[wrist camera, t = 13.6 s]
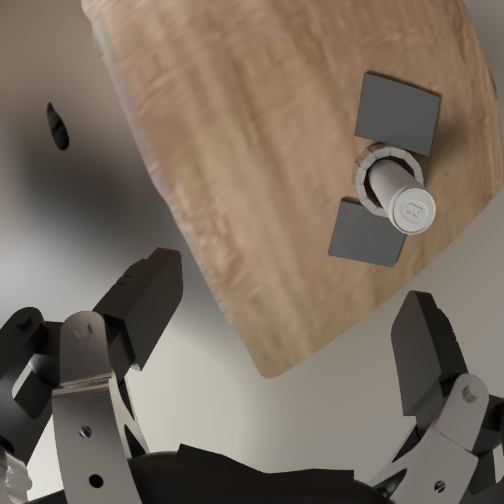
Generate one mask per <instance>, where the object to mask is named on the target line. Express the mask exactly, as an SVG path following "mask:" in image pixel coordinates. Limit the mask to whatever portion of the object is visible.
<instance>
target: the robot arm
mask: <svg viewBox="0 0 504 504" xmlns="http://www.w3.org/2000/svg"><path fill="white" fill-rule="evenodd" d="M182 294H183V279H182V265H181V254H180V252H179V251H177V250H171V249H166V248H160V247H158V248H157V249H156V250H155V251H154V252H153V253H152V254H151V255H150V257H149V258H148V259H141V260H140V261H138V262H136V263H134V264H133V265H131V266H130V267H129V268H128V269H127V271H125V273H124V274H123V276H121V277H120V278H119V279H118V280H117V282H116V284H114V285H113V286H112V287H111V289H110V290H109V291H108V292H107V293H106V294H105V296H104V297H103V298H102V299H101V300H100V301H99V303H98V304H97V305H96V306H95V307H94V309H93V310H92V311H80V312H77V313H75V314H73V315H71V316H70V317H68V318H67V319H66V320H65V321H64V322H50V321H44V318H43V316H42V314H41V312H40V311H39V310H38V309H37V308H34V307H26V308H22V309H20V310H18V311H17V312H15V313H14V314H13V315H12V316H11V317H10V318H9V320H8V321H7V322H6V323H5V324H4V326H3V327H2V328H1V329H0V504H504V476H503V478H502V479H501V480H500V481H499V482H498V483H496V480H495V468H494V458H493V449H495V448H496V447H497V446H499V445H500V444H502V448H503V455H504V398H500V397H497V396H493V395H490V394H489V393H488V390H487V387H486V386H485V384H484V382H483V381H482V380H481V379H480V378H478V377H477V376H475V375H473V374H469V373H468V370H467V367H466V364H465V361H464V358H463V356H462V352H461V350H460V347H459V344H458V342H456V337H455V334H454V332H453V329H452V327H451V324H450V322H449V320H448V318H447V317H446V316H445V314H444V313H443V312H442V311H441V310H440V309H439V308H437V306H436V304H435V301H434V299H433V297H432V295H431V294H430V293H427V292H420V291H413V290H411V291H410V292H409V293H408V294H407V296H406V298H405V300H404V302H403V304H402V307H401V309H400V311H399V313H398V315H397V317H396V319H395V321H394V323H393V326H392V330H391V341H392V346H393V351H394V356H395V362H396V367H397V373H398V379H399V386H400V393H401V400H402V408H403V416H416V422H415V423H414V424H413V425H412V427H411V428H410V430H409V431H408V433H407V434H406V436H405V437H404V439H403V441H402V442H401V444H400V445H399V447H398V448H397V449H396V451H395V452H394V454H393V455H392V457H391V458H390V459H389V461H388V462H387V463H386V465H385V466H384V467H383V468H382V469H381V470H380V471H379V472H378V473H377V474H376V475H375V476H374V477H373V478H372V479H371V480H370V481H369V482H368V483H367V484H365V483H363V482H360V481H358V480H355V479H354V470H329V469H307V470H299V471H291V472H282V473H263V472H261V471H258V470H256V469H253V468H251V467H248V466H246V465H244V464H242V463H239V462H237V461H235V460H233V459H231V458H229V457H227V456H224V455H222V454H217V453H214V452H209V451H205V450H202V449H198V448H194V447H191V446H188V445H184V444H180V446H179V449H178V452H176V451H164V452H163V451H162V452H155V453H150V452H149V449H148V446H147V443H146V441H145V439H144V436H143V434H142V432H141V430H140V427H139V424H138V421H137V417H136V414H135V410H134V407H133V403H132V399H131V395H130V391H129V387H128V383H127V378H126V376H125V375H126V373H127V371H128V370H129V368H133V369H135V370H138V371H142V369H143V367H144V365H145V364H146V362H147V360H148V358H149V356H150V354H151V353H152V351H153V349H154V347H155V345H156V344H157V342H158V340H159V338H160V337H161V335H162V333H163V331H164V330H165V328H166V326H167V324H168V322H169V321H170V319H171V317H172V315H173V314H174V312H175V310H176V308H177V307H178V305H179V303H180V301H181V298H182ZM27 364H28V365H29V367H30V368H31V369H32V371H31V372H30V374H29V375H28V377H27V378H26V380H25V381H24V383H23V385H22V386H21V388H20V390H19V391H18V393H17V395H16V397H15V398H14V399H13V397H12V388H13V386H14V384H15V382H16V381H17V379H18V378H19V376H20V374H21V373H22V371H23V370H24V368H25V367H26V365H27ZM52 413H53V423H54V432H55V440H56V448H57V455H58V460H59V466H60V472H61V477H62V481H63V486H64V489H63V490H61V491H58V492H55V493H53V494H50V495H47V496H44V497H41V498H38V499H35V500H32V501H28V498H27V490H30V489H31V487H32V481H31V478H30V477H29V476H28V471H27V469H26V467H27V464H28V462H29V460H30V458H31V456H32V453H33V451H34V449H35V447H36V445H37V443H38V441H39V439H40V437H41V435H42V433H43V431H44V429H45V427H46V425H47V423H48V421H49V419H50V417H51V415H52Z"/></svg>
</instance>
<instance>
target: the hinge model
mask: <svg viewBox="0 0 504 504" xmlns="http://www.w3.org/2000/svg"><path fill="white" fill-rule="evenodd" d="M439 102H440V97H437V96H435V95H432V94H430V93H427V92H424V91H422V90H419V89H416V88H413V87H410V86H407V85H404V84H401V83H398V82H395V81H392V80H388V79H385V78H381V77H378V76H374V75H370V74H367V73H364V77H363V84H362V91H361V98H360V105H359V111H358V117H357V123H356V128H355V134H354V135H355V136H358V137H362V138H366V139H370V140H374V141H378V142H382V143H380V144H376V145H373V146H370V147H368V149H369V150H368V149H367V148H366V149H365V150H364V151H363V152H362V153H361V154H360V156H359V157H358V158H357V159H356V161H357V162H356V161H355V163H354V168H353V173H352V181H353V184H354V187H355V190H356V194H357V196H358V198H359V200H360V202H361V203H362V204H360V203H356V202H351V201H346V200H342V199H341V202H340V206H339V211H338V215H337V219H336V223H335V227H334V231H333V235H332V239H331V243H330V247H329V250H328V255H331V256H336V257H341V258H346V259H352V260H357V261H362V262H367V263H373V264H378V265H383V266H388V267H394V264H395V262H396V259H397V257H398V254H399V251H400V249H401V246H402V243H403V240H404V238H405V235H406V234H405V233H403V232H401V231H400V230H398V229H397V228H396V227H395V226H394V225H393V224H392V222H391V221H390V219H389V217H388V215H387V214H386V212H385V210H384V208H383V207H382V205H381V203H380V201H379V200H376V199H372V198H371V197H370V196H369V195H368V194H367V193H366V192H365V188H364V185H363V183H364V179H365V175H366V170H367V169H368V168H369V167H370V166H371V165H372V164H373V162H374V161H375V160H376V159H379V158H382V157H386V156H389V155H391V156H395V157H399V158H401V159H402V160H403V161H404V162H405V163H406V166H407V170H408V173H409V174H410V175H412V176H413V177H414V178H415V179H416V180H417V181H418V182H420V183H421V184H422V185H424V184H423V183H424V181H423V176H422V171H421V167H420V165H419V163H418V162H417V161H416V160H415V159H414V158H413V157H412V156H411V155H410V154H409V152H407V151H406V150H410V151H413V152H416V153H419V154H422V155H426V156H429V153H430V149H431V144H432V140H433V135H434V130H435V125H436V120H437V114H438V108H439ZM402 148H403V149H402ZM404 149H406V150H404Z"/></svg>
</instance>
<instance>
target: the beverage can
mask: <svg viewBox="0 0 504 504" xmlns="http://www.w3.org/2000/svg"><path fill="white" fill-rule="evenodd" d="M368 180H369V184H370V185H371V187H372V189H373V191H374V192H375V194H376V196H377V198H378V199H379V201H380V203H381V205H382V207H383V208H384V210H385V212H386V214H387V215H388V217H389V219H390V221H391V222H392V224H393V225H394V226H395V227H396V228H397V229H398V230H400V231H401V232H403V233H405V234H418V233H421V232H423V231H424V230H426V229H427V228H428V227H429V226H430V225H431V223H432V222H433V220H434V217H435V212H436V207H435V202H434V199H433V197H432V195H431V194H430V192H429V191H428V190H427V189H426V188H425V187H424V186H423V185H422V184H421V183H420V182H418V181H417V180H416V179H415V178H414V177H413V176H412V175H410V174H409V173H408V172H407V171H406V170H405V169H403V168H402V167H401V166H400V165H399V164H398V163H396V162H394V161H392V160H380V161H378V162H376V163H374V164H373V165H372V167H371V168H370V170H369V174H368Z"/></svg>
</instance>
